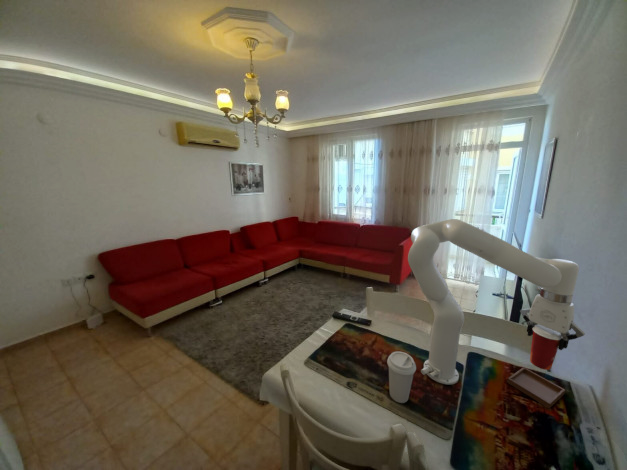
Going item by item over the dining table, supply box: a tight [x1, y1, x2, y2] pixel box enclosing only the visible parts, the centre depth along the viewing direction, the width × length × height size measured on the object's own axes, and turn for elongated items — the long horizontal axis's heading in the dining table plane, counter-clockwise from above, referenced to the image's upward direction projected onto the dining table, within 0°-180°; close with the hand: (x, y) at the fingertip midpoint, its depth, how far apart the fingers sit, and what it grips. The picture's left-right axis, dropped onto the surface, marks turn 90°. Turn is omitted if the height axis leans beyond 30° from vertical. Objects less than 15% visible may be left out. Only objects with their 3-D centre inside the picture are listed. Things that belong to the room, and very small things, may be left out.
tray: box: [506, 366, 566, 409], centre depth 88 cm, size 12×12×2 cm
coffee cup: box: [386, 351, 417, 404], centre depth 84 cm, size 10×10×15 cm
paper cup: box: [529, 323, 562, 371], centre depth 84 cm, size 8×8×14 cm
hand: (545, 341), depth 84 cm, fingers closed on paper cup, 7 cm apart
